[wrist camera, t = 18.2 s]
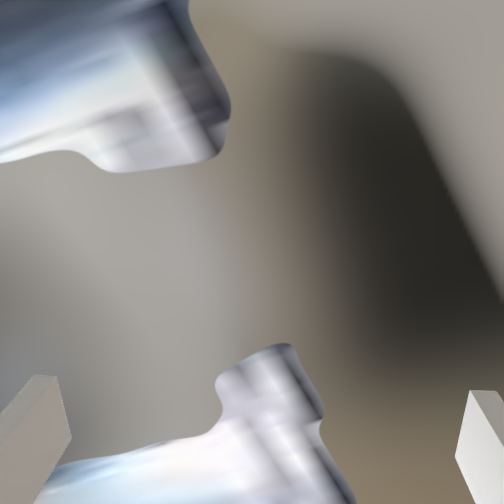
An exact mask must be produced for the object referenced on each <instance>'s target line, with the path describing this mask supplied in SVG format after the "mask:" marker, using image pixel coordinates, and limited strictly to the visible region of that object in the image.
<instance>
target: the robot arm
mask: <svg viewBox="0 0 504 504" xmlns="http://www.w3.org/2000/svg"><path fill="white" fill-rule="evenodd" d="M71 439H72V437H71V433H70V429H69V425H68V421H67V417H66V413H65V410H64V405H63V401H62V397H61V393H60V389H59V385H58V381H57V377H56V376H53V375H33V377H32V378H31V379H30V380H29V381H28V382H27V384H26V385H25V386H24V387H23V388H22V389H21V390H20V392H19V393H18V394H17V395H16V397H15V398H14V399H13V400H12V401H11V402H10V404H9V405H8V406H7V407H6V408H5V409H4V410H3V412H2V413H1V414H0V504H33V502H34V501H35V499H36V497H37V496H38V494H39V492H40V491H41V489H42V487H43V486H44V484H45V482H46V481H47V479H48V477H49V476H50V474H51V472H52V471H53V469H54V467H55V466H56V464H57V462H58V461H59V459H60V457H61V456H62V454H63V452H64V451H65V449H66V447H67V446H68V444H69V442H70V441H71ZM455 458H456V461H457V463H458V465H459V467H460V469H461V472H462V474H463V476H464V478H465V481H466V483H467V485H468V487H469V490H470V492H471V494H472V496H473V498H474V501H475V503H476V504H504V402H503V401H502V399H501V397H500V396H499V395H498V393H497V392H496V391H480V390H470V392H469V396H468V401H467V405H466V409H465V414H464V418H463V423H462V427H461V432H460V436H459V441H458V445H457V449H456V454H455Z"/></svg>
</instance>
